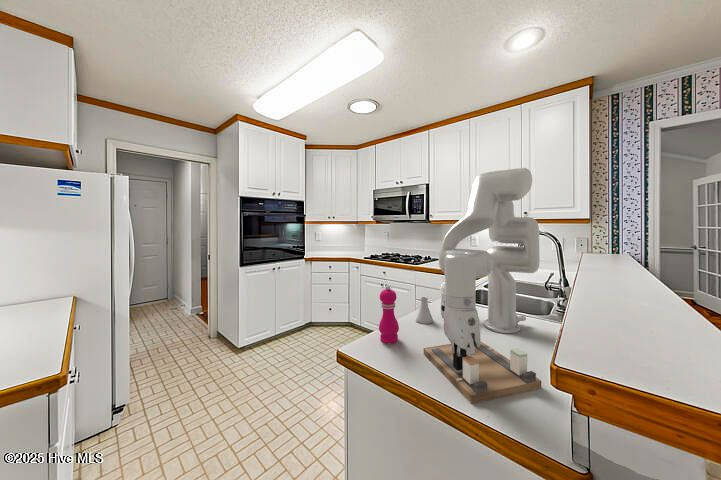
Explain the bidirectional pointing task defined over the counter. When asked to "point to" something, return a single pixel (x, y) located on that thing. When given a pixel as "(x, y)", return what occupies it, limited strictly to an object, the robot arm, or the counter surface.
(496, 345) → the counter surface
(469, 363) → the terracotta-capped tab
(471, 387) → the wooden board
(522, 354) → the sage-capped tab
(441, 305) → the supplement can
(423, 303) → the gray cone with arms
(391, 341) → the pepper mill
